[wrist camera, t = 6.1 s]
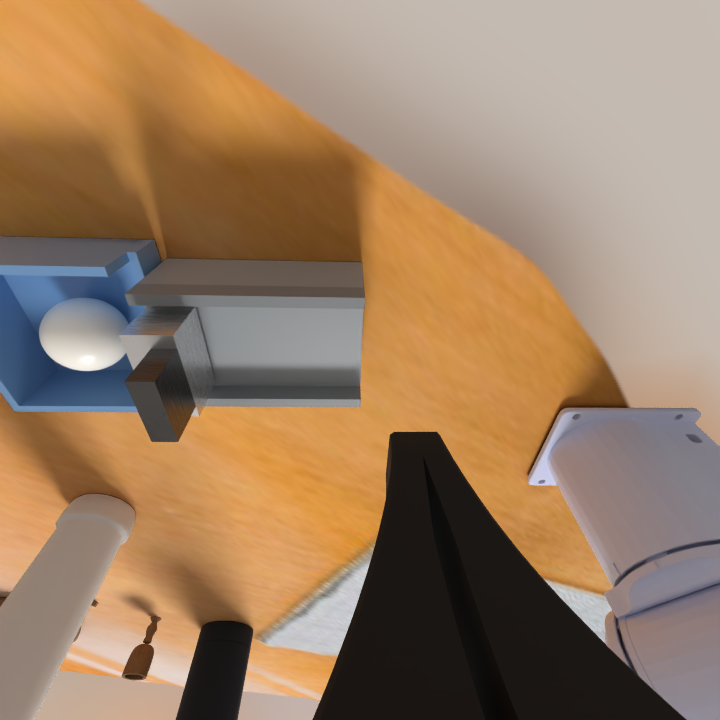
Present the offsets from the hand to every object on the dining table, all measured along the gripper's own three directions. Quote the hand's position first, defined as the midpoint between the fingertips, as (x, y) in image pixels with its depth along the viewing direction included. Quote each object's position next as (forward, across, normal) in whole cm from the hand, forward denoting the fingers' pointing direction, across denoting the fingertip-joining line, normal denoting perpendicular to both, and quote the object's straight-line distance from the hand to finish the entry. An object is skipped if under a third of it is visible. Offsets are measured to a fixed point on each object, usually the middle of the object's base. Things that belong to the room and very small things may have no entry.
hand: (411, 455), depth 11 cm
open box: (+10, +15, +1) cm, 18 cm away
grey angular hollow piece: (+7, +9, +1) cm, 12 cm away
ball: (+8, +14, +1) cm, 16 cm away
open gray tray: (+10, +7, +1) cm, 12 cm away
